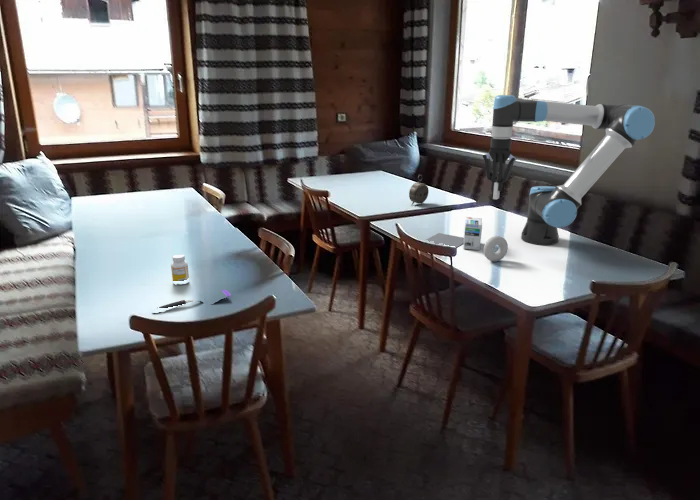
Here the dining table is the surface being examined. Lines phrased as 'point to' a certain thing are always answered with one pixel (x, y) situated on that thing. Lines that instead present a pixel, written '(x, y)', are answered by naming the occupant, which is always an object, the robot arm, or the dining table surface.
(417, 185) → the alarm clock
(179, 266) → the supplement bottle
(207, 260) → the dining table surface
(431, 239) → the mat
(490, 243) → the donut
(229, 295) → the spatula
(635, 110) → the robot arm
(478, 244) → the light bulb box
